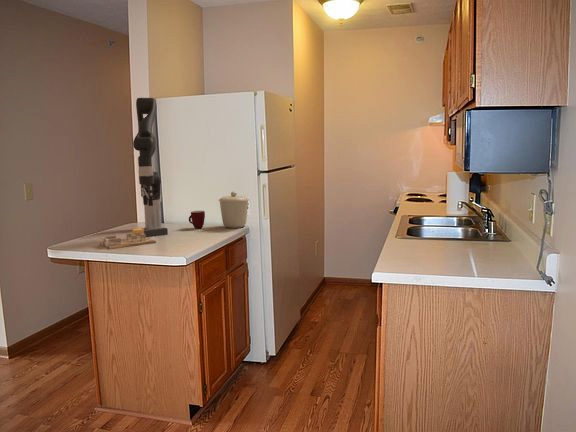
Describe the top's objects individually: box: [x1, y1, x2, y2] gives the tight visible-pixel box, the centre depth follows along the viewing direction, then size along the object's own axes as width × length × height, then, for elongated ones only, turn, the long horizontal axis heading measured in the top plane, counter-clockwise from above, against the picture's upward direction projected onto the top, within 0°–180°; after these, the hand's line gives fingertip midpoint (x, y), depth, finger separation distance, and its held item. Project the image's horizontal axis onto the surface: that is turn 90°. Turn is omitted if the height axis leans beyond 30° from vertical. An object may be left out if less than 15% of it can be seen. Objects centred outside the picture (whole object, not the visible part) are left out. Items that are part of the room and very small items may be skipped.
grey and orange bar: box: [131, 227, 169, 238], centre depth 272 cm, size 18×5×5 cm, turn 127°
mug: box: [188, 210, 206, 230], centre depth 295 cm, size 10×8×10 cm
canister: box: [218, 191, 250, 229], centre depth 298 cm, size 18×18×21 cm
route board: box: [99, 232, 157, 250], centre depth 253 cm, size 16×23×4 cm
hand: (148, 205), depth 270 cm, fingers open, 8 cm apart
